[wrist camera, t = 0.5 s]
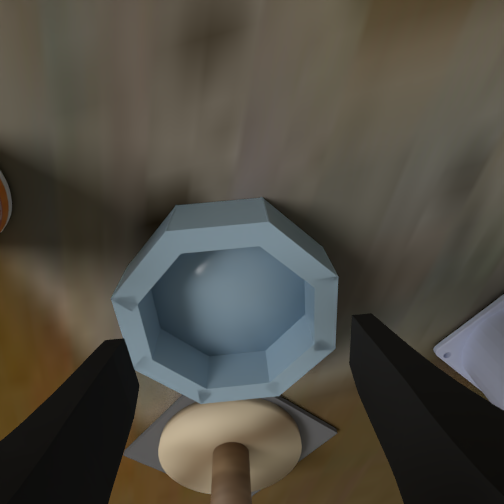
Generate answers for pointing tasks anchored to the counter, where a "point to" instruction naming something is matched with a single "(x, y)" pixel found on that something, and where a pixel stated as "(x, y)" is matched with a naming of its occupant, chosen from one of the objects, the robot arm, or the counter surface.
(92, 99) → the counter surface
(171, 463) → the lid
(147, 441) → the mat
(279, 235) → the bowl
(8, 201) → the pill bottle
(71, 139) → the counter surface
